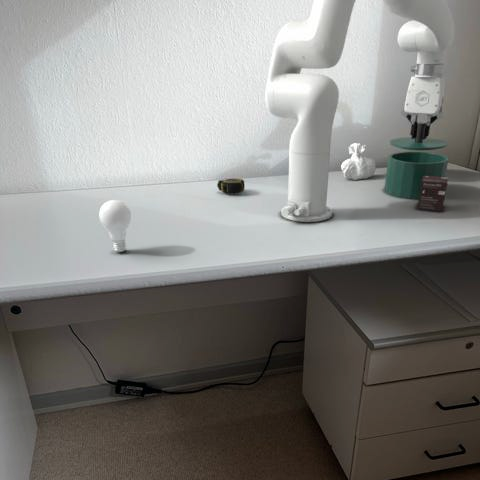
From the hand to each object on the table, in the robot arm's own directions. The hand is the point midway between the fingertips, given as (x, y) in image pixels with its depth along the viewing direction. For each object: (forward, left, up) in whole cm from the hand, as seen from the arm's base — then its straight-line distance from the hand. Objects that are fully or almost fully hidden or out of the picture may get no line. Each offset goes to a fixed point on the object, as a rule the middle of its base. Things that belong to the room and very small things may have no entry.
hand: (419, 137), depth 151 cm
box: (-31, -13, -12) cm, 36 cm away
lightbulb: (-94, +35, -12) cm, 101 cm away
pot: (-18, -5, -12) cm, 22 cm away
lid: (0, 0, -2) cm, 2 cm away
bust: (-10, +15, -12) cm, 22 cm away
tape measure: (-44, +40, -12) cm, 61 cm away
